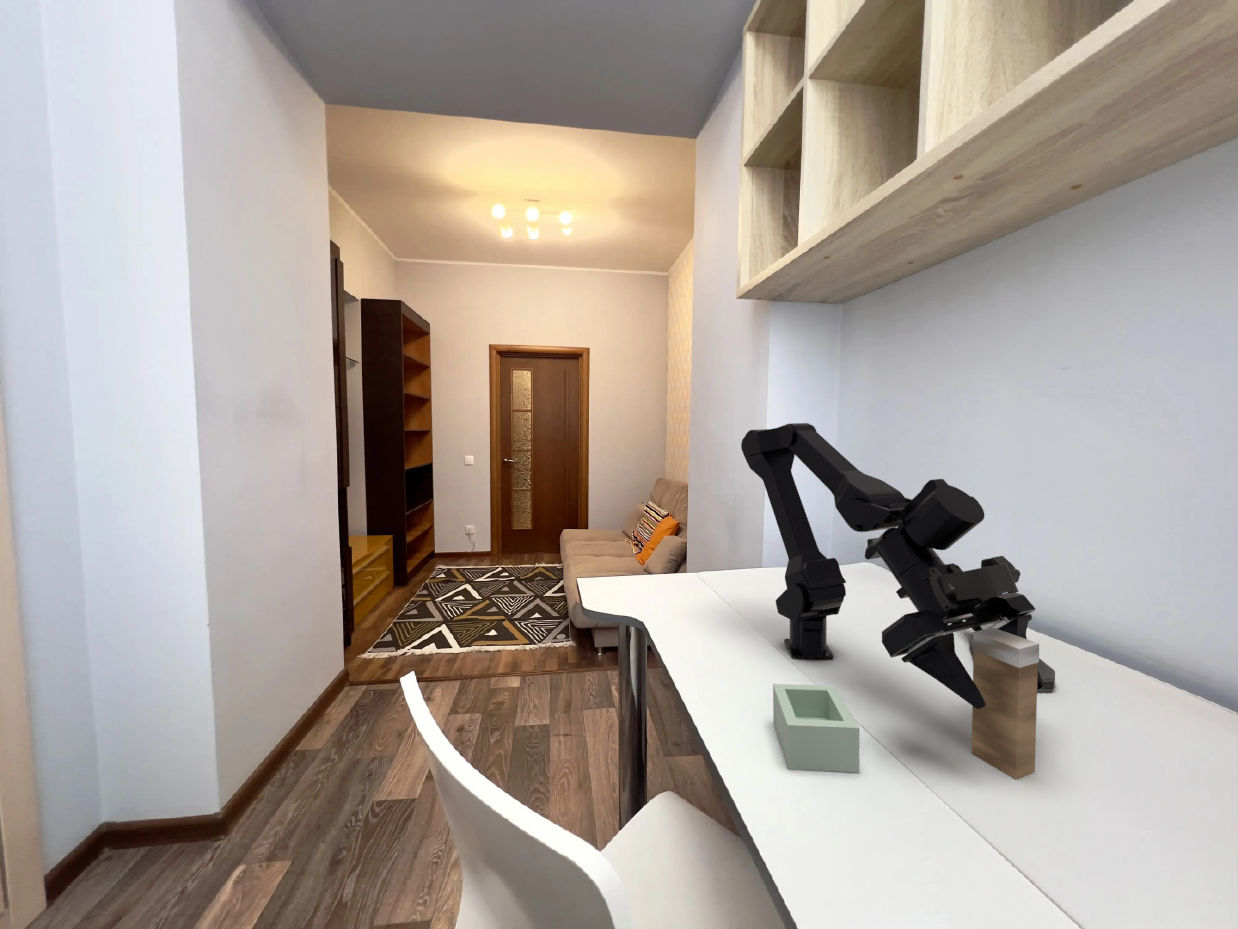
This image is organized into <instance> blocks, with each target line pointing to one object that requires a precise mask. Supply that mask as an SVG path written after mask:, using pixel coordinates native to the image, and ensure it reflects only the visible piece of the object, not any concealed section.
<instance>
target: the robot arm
mask: <svg viewBox="0 0 1238 929" xmlns="http://www.w3.org/2000/svg"><path fill="white" fill-rule="evenodd" d="M740 445H741V446H740V448H741V451H742V455H743V457H744V459H745V461H746V463H747V465H748V467H749V469H750V470H751V471H752V472H754V474H756V475H757V476H758V478H760V479H761V480H762V482H763V485H764V487H765V490H766V494H767V497H768V499H769V503H770V506H771V509H772V512H773V514H774V515H773V516H774V518H775V520H776V525H777V527H778V530H779V533H780V537H781V540H782V542H783V546H784V549H785V551H786V554H787V558H788V562H787V564H786V569H785V575H784V581H785V585H786V589H785V590H784V591H782V593H781V594H780V595H779V596H778V597H777V599H776V600H775V605H776V609H777V613H778V614H779V615H780V616H782V617H785V618H787V619H789V638H784V640H783V642H784V644H785V646H786V649H787V650H788V653H789V655H790V657H791V658H793V659H813V660H814V659H821V660H822V659H824V660H833V659H834V658H835V657H834V654H833V652H832V651H831V649H830V648H829V646H828V645H827V638H828V637H827V634H828V633H827V630H828V628H827V617H828V616H833V615H838V614H839V613H840V609H841V607H842V604H843V602H844V599H845V597H846V596H847V589H846V586H845V584H846V583H847V580H846V578H844V577H843V574H842V572H841V569H840V568H841V567H840V564H839V562H838V560H837V559H836V558H835V557H831V558H827V557H826V556H825V555H824V554H823V553H822V551H820V549H819V546H818V544H817V541H816V539H815V538H816V537H815V536H814V532H813V530H812V527H811V525H810V520H809V518H808V515H807V512H806V510H805V507H804V504H803V501H802V498H801V496H800V493H799V490H798V487H797V484H796V482H795V479H794V475H793V473H792V469H793V464H794V462H795V461H794V460H795V456H796V458H798V460H800V462H802V463H803V465H805V466H806V468H808V470H810V472H811V473H812V474H813V475H814V476H815V477H816V478H817V479H818V480H820V482H821V483H822V484H823V485H824V486H825V487H826V488H827V489H828V490H829V491H830V492H831V494H832V495H833V500H834V506H835V509H836V510H837V512H838V513H839V515H840V516H841V517H842V519H843V520H844V521H845V523H846V524H847V525H848V527H849V528H850V529H851V530H853V531H855V532H857V533H866V532H867V533H868V532H874V531H881V530H883V533H882V534H880V536H879V537H873V538H868V539H867V542H866V543H867V546H866V549H865V550H864V551H865V552H864V558H865V560H874V559H880V558H881V560H882V561H883V562H884V564H885V565H886V567H887V569H888V570H889V572H890V573H891V574H892V575H893V577H894V578H895V580H896V581H897V583H898V584H899V586H900V588H899V589H897V590H896V591H895V592H896V594H897V596H898V597H899V599H900V600H901V599H907V598H908V599H909V601H911V603H912V605H913V606H914V607H915V609H916V610H917V611H915V612H914V611H913V612H910V613H905V614H904V615H902V616H901V617H900V618H898V619H896V620H895V621H894V622H893V623H892V624H890V625H889V626H888V627H886V628H884V630H882V631H881V643H882V645H883V647H884V649H885V650H886V651H887V653H888V655H889V657H890V658H896V657H900V656H902V657H901V658H900V659H901V661H902V662H903V663H910V664H912V665H914V667H916V668H917V669H919V670H921V671H922V672H924V673H925V674H927V675H929V676H930V677H931V678H933V679H935V680H936V681H937V682H939V683H940V684H942V685H943V686H945V687H946V688H948V690H949V691H952V692H953V693H954V694H956V695H957V696H958V697H960V698H961V699H963V700H964V701H966V703H968V704H969V705H970V706H972V707H975V708H976V709H981V708H983V707H985V706H986V703H985V701H984V699H983V697H982V695H981V693H980V691H979V690H978V688H977V686H976V685H975V683H974V682H973V678H972V677H971V676H970V674H969V672H968V671H967V668H966V667H965V666H964V665H963V663H962V661H961V660H960V658H959V656H958V655H957V653H956V649H955V648H956V645H955V634H954V633H956V632H960V631H964V630H968V629H972V631H973V632H976V631H980V630H984V629H988V628H992V627H993V628H996V629H998V630H1001V631H1004V632H1007V633H1010V634H1013V635H1016V636H1019V637H1022V638H1025V639H1027V640H1028V638H1027V631H1028V625H1029V622H1030V621H1032V620H1033V615H1032V613H1033V612H1035V611H1036V608H1035V606H1034V605H1033V604H1032V602H1030V601H1029V599H1028V598H1027V596H1025V595H1024V594H1021V593H1019V589H1018V587H1017V584H1016V583H1018V582H1019V580H1020V577H1021V572H1020V570H1019V569H1017V568H1016V567H1015V566H1014V564H1013V563H1012V562H1010V561H1009V560H1008V559H1007V558H1006V557H1005V556H1003V555H999V556H994V557H989V558H985V559H981V562H980V567H978V568H973V569H968V570H965V571H963V570H962V567H960V566H959V565H957V564H955V563H954V562H953V563H948V564H946V563H945V562H944V561H943V560H942V559H941V557H940V556H939V554H938V553H937V552H936V551H935V550H937V551H946V550H947V549H950V548H951V547H952V546H954V545H955V544H956V543H957V542H958V541H960V539H962V538H963V537H965V536H966V535H967V534H968V533H970V532H971V531H972V530H973V529H974V528H975V527H977V526H978V525H979V524H980V523H981V522H983V521H984V519H985V510H984V509H983V507H982V505H981V504H980V503H979V501H978V500H977V499H976V498H975V497H974V496H970V495H969V494H968V493H967V492H965V491H963V490H961V489H960V488H958V487H956V486H953V485H950V484H948V483H947V481H945V479H944V478H937V479H929V480H928V481H927V482H926V483H925V484H924V485H923V486H922V488H921V490H920V491H919V492H918V493H917V494H916V495H915V496H914V497H913V498H912V499H911V498H908V497H906V496H904V495H903V493H902V492H901V491H900V490H899V489H897V488H895V487H893V485H890V484H889V483H887V482H886V481H884V480H882V479H879V478H877V477H874V476H871V475H868V474H866V473H864V472H862V471H861V470H859V469H858V468H857V467H856V466H855V465H854V464H853V463H851V462H850V461H849V460H848V459H847V458H846V457H845V456H844V455H842V453H840V452H839V451H838V449H836V448H835V447H834V446H833V445H831V444H830V442H829V441H828V440H826V439H825V438H824V437H823V436H822V435H820V433H818V431H817V428H816V427H815V425H812V424H810V423H807V422H800V423H799V422H797V423H795V422H794V423H792V422H791V423H787V424H784V425H781V426H778V427H775V428H770V429H769V428H767V429H766V428H765V429H762V428H761V429H750V430H749V431H747V432H746V433H745V436H744V437H743V438H742V440H741V444H740ZM884 530H885V531H884ZM988 598H989V599H988ZM979 604H980V605H979ZM977 605H979V606H977ZM975 606H977V607H975ZM903 655H904V656H903ZM1042 688H1044V684H1043V681H1042V679H1041V676H1040V674H1039V671H1038V678H1037V690H1040V689H1042Z"/></svg>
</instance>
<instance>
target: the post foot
mask: <svg viewBox="0 0 1238 929" xmlns="http://www.w3.org/2000/svg"><path fill="white" fill-rule="evenodd" d="M772 695H773V696H772V697H773V698H772V708H773V709H772V710H773V712H772V714H773V715H772V719H773V725H774V729H775V731H776V734H777V739H778V741H779V744H780V748H781V751H782V754H783V757H784V761H785V764H786V768H787V770H797V771H799V770H800V771H817V772H833V773H834V772H838V773H860V726H859V725H858V723H857V721H856V720H855V718H854V717H853V715H852V713H851V711H850V709H849V708H848V706H847V704H846V702H845V701H844V699H843V697H842V696H841V694H840V692H839V691H838V689H837V687H836V686H835V685H827V684H826V685H821V684H795V683H794V684H792V683H791V684H790V683H786V684H785V683H772Z"/></svg>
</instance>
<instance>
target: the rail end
mask: <svg viewBox="0 0 1238 929" xmlns="http://www.w3.org/2000/svg"><path fill="white" fill-rule="evenodd" d="M972 634H973V650H974V657H973V658H972V662H973V663H972V664H973V667H972V672H973V673H972V680H973V682H974V683H975V685H976V686H977V688H978V690H979V691H980V693H981V695H982V697H983V699H984V701H985V703H986V706H985V707H983V708H981V709H976V708H975V707H973V706H972V708H971V710H972V713H971V721H972V722H971V754H972V755H973V756H975V757H977V758H979V759H980V760H982V761H983V762H985V763H986V764H988V765H991V766H992V767H993V768H995V769H997V770H998V771H1000V772H1003V773H1004V774H1005V775H1007V776H1009V777H1011V778H1013V780H1018V779H1021V778H1024V777H1026V776H1028V775H1031V774H1033V773H1035V772H1036V770H1035V769H1036V744H1037V743H1036V741H1037V740H1036V739H1037V738H1036V736H1037V711H1038V710H1037V709H1038V708H1037V707H1038V706H1037V705H1038V693H1037V678H1038V662H1039V658H1040V643H1039V642H1036V641H1032V640H1030V639H1028V638H1027V639H1025V638H1022V637H1019V636H1016V635H1013V634H1010V633H1007V632H1004V631H1001V630H998V629H996V628H993V627H992V628H988V629H984V630H980V631H976V632H975V631H973V632H972Z"/></svg>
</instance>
